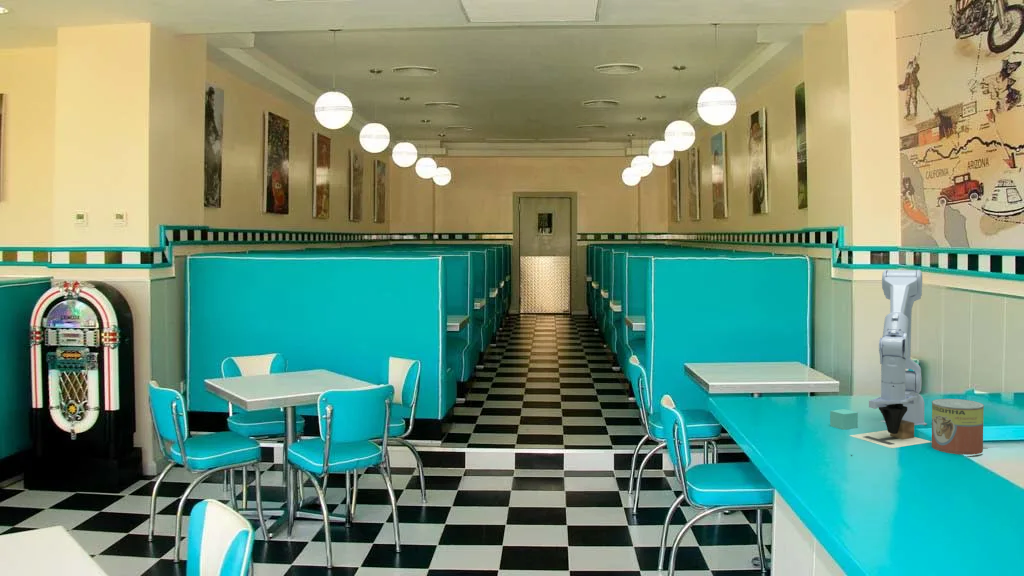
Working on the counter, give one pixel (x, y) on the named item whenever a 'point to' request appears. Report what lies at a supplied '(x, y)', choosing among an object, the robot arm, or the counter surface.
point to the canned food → (957, 426)
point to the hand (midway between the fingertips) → (892, 432)
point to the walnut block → (905, 430)
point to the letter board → (888, 439)
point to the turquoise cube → (844, 419)
